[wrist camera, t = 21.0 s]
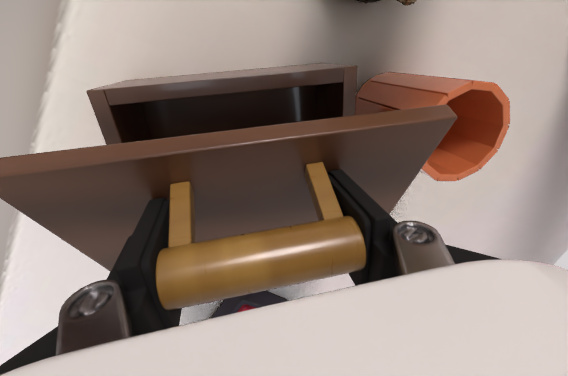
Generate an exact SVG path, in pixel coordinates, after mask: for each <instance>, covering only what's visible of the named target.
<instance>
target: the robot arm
mask: <svg viewBox="0 0 568 376" xmlns="http://www.w3.org/2000/svg"><path fill="white" fill-rule="evenodd" d="M328 177H329V180H330V182H331V185H332V188H333V190H334V193H335V195H336V198H337V201H338V203H339V206H340V208H341V211H342V214H343V216H351V217H352V218H354V219H355V221H356V222H357V224H358V225H359V227H360V230H361V232H362V235H363V238H364V242H365V247H366V264H365V267H364V268H363V269H362V270H361V271H356V272H352V273H349V275H350V277H351V278H352V280H353V282H354V284H355V285H356V286H352V287H348V288H343V289H339V290H334V291H330V292H326V293H321V294H317V295H312V296H308V297H304V298H299V299H295V300H290V301H286V302H282V303H277V304H273V305H268V306H264V307H260V308H255V309H251V310H246V311H242V312H238V313H233V314H229V315H224V316H220V317H216V318H211V319H207V320H202V321H198V322H194V323H189V324H185V325H181V326H179V322H180V315H181V309H182V308H180V309H175V310H170V311H168V310H165V309H164V308H163V307H162V305H161V303H160V300H159V297H158V293H157V288H156V276H155V272H156V262H157V257H158V254H159V252H160V251H161V250H162V249H163V248H168V244H169V209H170V200H168V201H167V199H166V198H165V197H164V198H158V199H152V200H149V202H148V204H147V206H146V208H145V210H144V212H143V214H142V216H141V218H140V220H139V222H138V224H137V226H136V228H135V230H134V232H133V234H132V235H131V236H129V237H128V239H127V241H126V243H125V245H124V247H123V249H122V251H121V253H120V254H119V256H118V258H117V260H116V262H115V264H114V266H113V268H112V270H111V272H110V274H109V276H108V278H107V280H101V281H97V282H94V283H91V284H89V285H87V286H85V287H83V288H81V289H80V290H78V291H77V292H75V293H74V294H73V295H71V296H70V297H69V298H68V299H67V300H66V301H65V303H64V304H63V306H62V307H61V310H60V313H59V323H58V327H56V328H55V329H53V330H52V331H50V332H49V333H47V334H46V335H44V336H43V337H42V338H40V339H39V340H37V341H36V342H34V343H33V344H31V345H30V346H28V347H27V348H25V349H24V350H22V351H21V352H20V353H18V354H17V355H15V356H14V357H12V358H11V359H9V360H8V361H6V362H5V363H3V364H2V365H1V366H0V376H568V270H566V269H563V268H561V267H558V266H554V265H550V264H545V263H540V262H533V261H524V260H511V259H499V258H495V257H491V256H487V255H483V254H480V253H476V252H472V251H468V250H464V249H460V248H456V247H453V246H449V245H445V243H444V241H443V240H442V238H441V236H440V234H439V233H438V231H437V230H436V229H434V228H433V227H432V226H430V225H427V224H425V223H421V222H418V221H402V222H399V223H397V222H396V221H395V220H394V219H393V218H392V217H391V216H390V215H389V214H388V213H387V212H386V211H385V210H384V209H383V208H382V207H381V206H380V205H379V204H378V203H376V202H375V201H374V200H373V199H372V198H371V197H370V196H369V195H368V194H367V193H366V192H365V191H364V190H363V189H362V188H361V187H360V186H359V185H358V184H356V183H355V182H354V181H353V180H352V179H351V178H350V177H349V176H348V175H347V174H346V173H345V172H344V171H343V170H341V169H340V170H333V171H328Z"/></svg>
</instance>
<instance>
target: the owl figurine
mask: <svg viewBox="0 0 568 376" xmlns="http://www.w3.org/2000/svg"><path fill="white" fill-rule="evenodd" d="M357 1H359V2H364V3H368V2H377V1H380V0H357ZM397 1H399V2H401V3H402V4H403V5H411V4H412V3H413V4H414V2H416V0H397Z"/></svg>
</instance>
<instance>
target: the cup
mask: <svg viewBox="0 0 568 376" xmlns="http://www.w3.org/2000/svg"><path fill="white" fill-rule="evenodd" d="M508 100H509V99H508V97H507V96H506V95H505V94H504V92H503V91H502V90H501V88H500V87H499V86H498V85H497V84H495V83H492V82H484V81H475V80H465V79H455V78H445V77H435V76H425V75H415V74H405V73H395V72H386V73H381V74H378V75H376V76H374V77H372V78H371V79H369V80H368V81H367V82H366V83H365V84H364V85H363V86H362V87H361V88H360V90H359V91H358V93H357V95H356V103H355V115H361V114H370V113H378V112H386V111H395V110H403V109H411V108H420V107H428V106H436V105H445V104H446V105H448V106H449V107H450V108H451V109H452V111H453V112H454V113H455V114H456V115H457V119H456V120H455V122H454V123H453V124H452V126H451V127H450V129H449V130H448V132H447V133H446V134H445V136H444V137H443V139H442V140H441V141H440V143H439V144H438V146H437V147H436V149H435V150H434V151H433V153H432V154H431V156H430V157H429V159H428V160H427V161H426V163H425V164H424V166H423V167H422V168H421V170H420V172H422V173H424V174H425V175H427V176H429V177H431V178H432V179H434V180H437V181H457V180H461V179H463V178H465V177H467V176H469V175H471V174H473V173H475V172H477V171H478V170H479V169H481V168H482V167H483V166H484V165H485V164H486V163H487V162H488V161H489V160H490V159H491V158H492V157H493V155H494V154H495V153H496V152H497V151H498V150H497V149H499V148H500V146H501V144H502V141H503V139H504V137H505V135H506V132H507V130H508V128H509V125H508V124H510V101H508Z"/></svg>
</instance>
